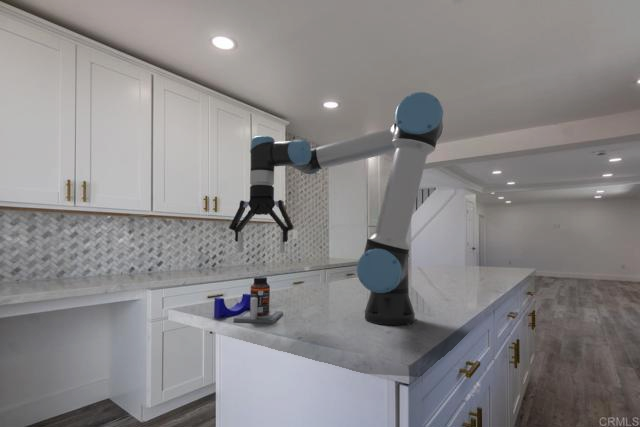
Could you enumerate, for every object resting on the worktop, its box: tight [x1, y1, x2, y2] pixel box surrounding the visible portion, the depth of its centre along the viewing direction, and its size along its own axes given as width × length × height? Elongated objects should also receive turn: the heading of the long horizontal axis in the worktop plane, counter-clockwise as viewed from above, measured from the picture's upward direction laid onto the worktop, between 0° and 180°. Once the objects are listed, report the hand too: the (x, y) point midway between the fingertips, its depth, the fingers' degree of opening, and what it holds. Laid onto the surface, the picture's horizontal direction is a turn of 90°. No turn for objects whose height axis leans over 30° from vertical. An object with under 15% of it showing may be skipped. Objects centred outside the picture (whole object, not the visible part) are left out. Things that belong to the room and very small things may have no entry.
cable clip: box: [213, 293, 250, 319], centre depth 112 cm, size 12×4×6 cm, turn 137°
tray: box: [233, 298, 284, 324], centre depth 107 cm, size 12×13×7 cm
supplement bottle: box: [249, 276, 271, 316], centre depth 107 cm, size 6×6×11 cm
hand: (261, 252), depth 108 cm, fingers open, 13 cm apart
